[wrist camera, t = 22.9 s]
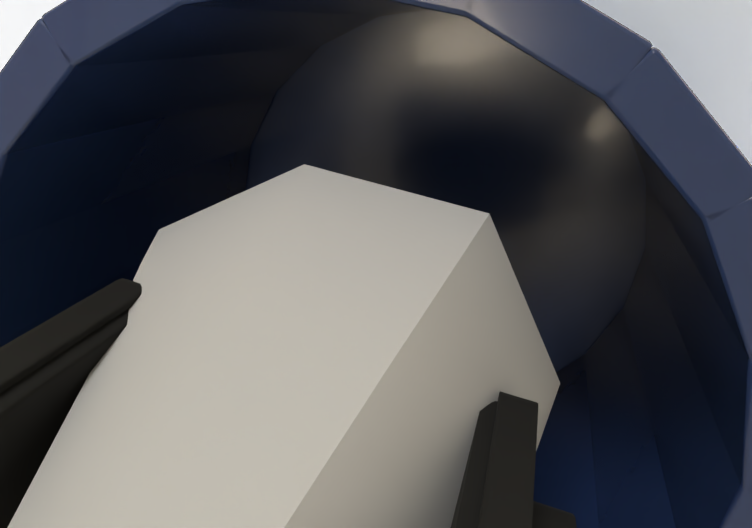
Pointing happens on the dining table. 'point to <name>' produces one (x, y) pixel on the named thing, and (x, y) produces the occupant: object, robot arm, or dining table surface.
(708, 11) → the dining table surface
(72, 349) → the robot arm
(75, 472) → the flask
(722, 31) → the dining table surface
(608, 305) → the pot
